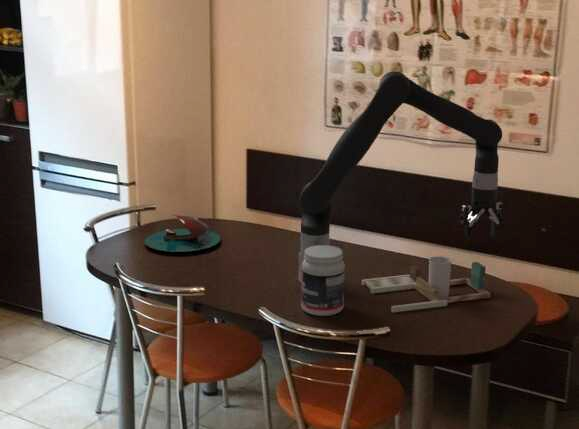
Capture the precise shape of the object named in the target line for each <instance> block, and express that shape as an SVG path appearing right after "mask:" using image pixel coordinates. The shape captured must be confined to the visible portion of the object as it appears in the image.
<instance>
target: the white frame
mask: <svg viewBox="0 0 579 429" xmlns="http://www.w3.org/2000/svg"><path fill="white" fill-rule="evenodd" d="M470 270H471V272H470V278H469V277H465V278H464V277H463V278H455V279H450V285H449V286H455V285H456V286H457V285H464V284H466V285H467V286H469V287H471V289H474V291H477V292H478V293H470V294H464V295H463V294H461V295H455V296H454V295H453V296H448V297H445V298H437V290H436V289H435V288H434V287H432V286H431V285H430V284H428V281H426V280H424V279H423V278H422V277H421V276H420V277H416V284H415V287H414V289H415V290H416V291H417V292H419V293H420V294H421V295H423V296H424V297H425V298H426V299H427V300H429V302H430V301H438V300H447V301H448V302H447V304H450V303H455V302H456V303H457V302H465V301H472V300H481V299H488V298H491V292H489V291H488V290H486V289H485V284H486V283H485V282H486V279H485V278H486V266H485V265H483V264H481V263H480V262H478V261H475V262H471V268H470Z"/></svg>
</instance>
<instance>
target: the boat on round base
mask: <svg viewBox="0 0 579 429" xmlns="http://www.w3.org/2000/svg"><path fill="white" fill-rule="evenodd" d="M174 216H175V218H177V219H179V221H181V224H182V227H185V228H174V229H167V228H166V230H165V229H164V230H160V231H157V232H155V233H152V234H151V235H148V236H147V237H146V238H145V239H144V244H145V245H146V246H147V247H149V248H151V249H154V250H157V251H162V252H163V251H165V252H173V253H174V252H179V253H180V252H192V251H193V252H194V251H201V250H205V249H208V248H211V247H214V246H216V245H217V244H218V243H220V241H221V236H220V235H218V234H217V233H215V232H214V231H211V230H209V225H207V224H206V223H204V222H202V221H200V220H199V219H198V218H197V217H194V216H191V215H178V214H172V217H174ZM172 219H173V221H174V218H172ZM154 241H155V242H154Z"/></svg>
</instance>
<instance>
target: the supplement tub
mask: <svg viewBox="0 0 579 429" xmlns="http://www.w3.org/2000/svg"><path fill="white" fill-rule="evenodd" d="M343 253H344V252H343V250H342V249H341V248H340V247H338V246H335V245H334V246H333V245H329V246H327V245H318V246H312V247H309V248H307V249H306V250H305V251H304V258H305V259H304V261H303V262H302V266H301V267H302V284H301V283H300V284H301V293H300V294H301V296H300V298H301V299H300V300H301V301H300V302H301V303H300V305H301V308H302V310H303V312H305V313H308V314H310V315H312V316H317V317H327V316H329V317H330V316H334V315H336V314H339V313H341V311H342V310H344V306H345V276H346V275H345V274H346V273H345V271H346V269H345V268H346V264H345V262H344V260H343V259H344V254H343Z"/></svg>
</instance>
